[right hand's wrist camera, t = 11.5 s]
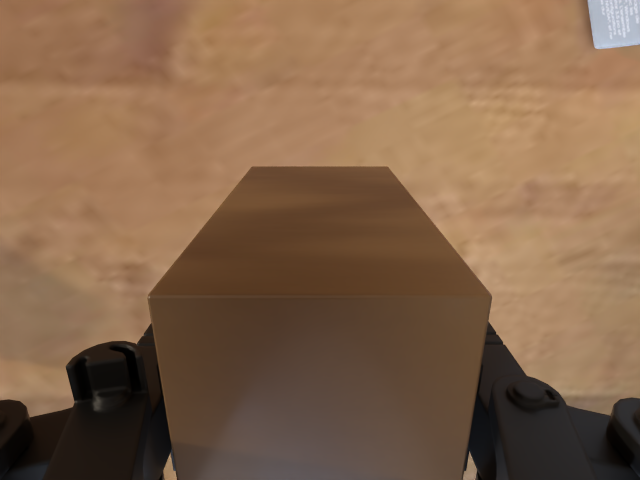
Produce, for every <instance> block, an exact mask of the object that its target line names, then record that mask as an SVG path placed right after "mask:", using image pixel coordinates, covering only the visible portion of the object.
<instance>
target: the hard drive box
mask: <svg viewBox="0 0 640 480" xmlns="http://www.w3.org/2000/svg"><path fill="white" fill-rule="evenodd" d="M588 7H589V14H590V21H591V27H592V34H593V41H594V46H595V48H598V49H603V48H613V47H622V46H630V45H638V44H640V0H588Z"/></svg>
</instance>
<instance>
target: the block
mask: <svg viewBox="0 0 640 480" xmlns="http://www.w3.org/2000/svg"><path fill="white" fill-rule="evenodd" d="M491 301H492V296H491V294H490V293H489V291H488V290H487V289H486V288H485V286H484V285H483V284H482V283H481V281H480V280H479V279H478V278H477V277H476V275H475V274H474V273H473V272H472V270H471V269H470V268H469V267H468V265H467V264H466V263H465V262H464V260H463V259H462V258H461V257H460V255H459V254H458V253H457V252H456V251H455V249H454V248H453V247H452V246H451V244H450V243H449V242H448V241H447V239H446V238H445V237H444V236H443V234H442V233H441V232H440V231H439V229H438V228H437V227H436V226H435V225H434V223H433V222H432V221H431V220H430V218H429V217H428V216H427V215H426V213H425V212H424V211H423V210H422V208H421V207H420V206H419V205H418V203H417V202H416V201H415V200H414V199H413V197H412V196H411V195H410V194H409V192H408V191H407V190H406V189H405V187H404V186H403V185H402V184H401V182H400V181H399V180H398V179H397V177H396V176H395V175H394V174H393V173H392V171H391V170H390V169H389V168H388V167H251V169H250V170H249V171H248V172H247V174H246V175H245V176H244V177H243V179H242V180H241V181H240V182H239V183H238V185H237V186H236V187H235V188H234V190H233V191H232V192H231V193H230V195H229V196H228V197H227V198H226V199H225V201H224V202H223V203H222V204H221V206H220V207H219V208H218V209H217V211H216V212H215V213H214V214H213V216H212V217H211V218H210V219H209V220H208V222H207V223H206V224H205V225H204V227H203V228H202V229H201V230H200V232H199V233H198V234H197V235H196V237H195V238H194V239H193V240H192V241H191V243H190V244H189V245H188V246H187V248H186V249H185V250H184V251H183V253H182V254H181V255H180V256H179V258H178V259H177V260H176V261H175V262H174V264H173V265H172V266H171V267H170V269H169V270H168V271H167V272H166V274H165V275H164V276H163V277H162V279H161V280H160V281H159V282H158V283H157V285H156V286H155V287H154V288H153V290H152V291H151V292H150V293H149V295H148V304H149V310H150V316H151V322H152V328H153V334H154V341H155V347H156V353H157V359H158V365H159V371H160V378H161V384H162V390H163V396H164V402H165V408H166V415H167V421H168V427H169V433H170V439H171V445H172V451H173V458H174V464H175V470H176V476H177V480H463V474H464V468H465V462H466V455H467V449H468V443H469V437H470V431H471V425H472V418H473V412H474V406H475V400H476V394H477V388H478V381H479V375H480V369H481V363H482V357H483V350H484V344H485V338H486V332H487V326H488V320H489V313H490V307H491Z"/></svg>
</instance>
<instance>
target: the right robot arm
mask: <svg viewBox="0 0 640 480" xmlns="http://www.w3.org/2000/svg"><path fill="white" fill-rule="evenodd" d="M66 370H67V374H68V378H69V382H70V386H71V389H72V393H73V397H74V401H75V403H74V406H73V407H72V408H69V409H65V410H62V411H57V412H53V413H48V414H43V415H39V416H34V417H29V414H28V411H27V407H26V406H25V405H24V404H23V403H21V402H20V401H15V400H1V401H0V480H164V474H163V469H164V467H165V464H166V462H167V460H168V457H169V455H170V452H171V458H172V464H173V470H174V471H176V470H175V464H174V458H173V451H172V445H171V439H170V433H169V427H168V421H167V415H166V408H165V402H164V396H163V390H162V384H161V378H160V371H159V365H158V359H157V353H156V347H155V341H154V334H153V328H152V323H151V324H150V326H149V327H148V329H147V330H146V331H145V333H144V336H142V337H141V339H140V340H139V341H138V343H137V345H136V344H135V343H131V342H127V341H112V342H107V343H103V344H98V345H96V346H93V347H91V348H88V349H86V350H84V351H82V352H81V353H79V354H78V355H76V356H75V357H73V358H72V359H71V361H70V362H69V363H68V364H67V365H66ZM469 451H470V453H471V456H472V458H473V461H474V463H475V465H476V468H477V474H476V480H640V399H639V398H626V399H620V400H619V401H618V402H617V403H615V404H614V406H613V409H612V413H611V416H609V415H605V414H600V413H596V412H591V411H587V410H582V409H578V408H574V407H571V406H567V405H566V403H565V401H564V400H563V398H562V397H561V395H560V394H559V393H558V392H557V391H556V390H555V389H553V388H552V387H551V386H549V385H548V384H546V383H544V382H542V381H540V380H538V379H535V378H532V377H528V376H526V374H525V373H524V371H523V370H522V368H521V367H520V366H519V364H518V363H517V361H516V360H515V359H514V357H513V356H512V354H511V353H510V351H509V350H508V349H507V347H506V346H505V345H503V341H502V340H501V339H500V337H499V336H498V335H496V332H495V330H494V329H493V327H492V326H491V324H490V323H489V322H488V326H487V332H486V338H485V344H484V350H483V357H482V363H481V369H480V375H479V381H478V388H477V394H476V400H475V406H474V412H473V418H472V425H471V431H470V437H469V443H468V449H467V455H466V462H465V468H464V471H466V468H467V462H468V456H469Z"/></svg>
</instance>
